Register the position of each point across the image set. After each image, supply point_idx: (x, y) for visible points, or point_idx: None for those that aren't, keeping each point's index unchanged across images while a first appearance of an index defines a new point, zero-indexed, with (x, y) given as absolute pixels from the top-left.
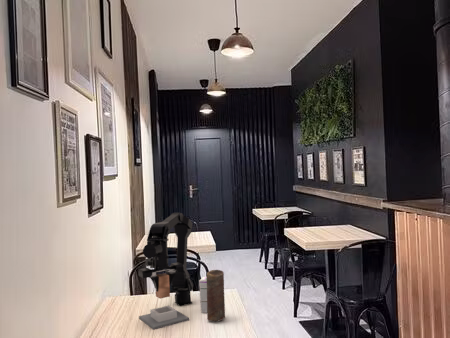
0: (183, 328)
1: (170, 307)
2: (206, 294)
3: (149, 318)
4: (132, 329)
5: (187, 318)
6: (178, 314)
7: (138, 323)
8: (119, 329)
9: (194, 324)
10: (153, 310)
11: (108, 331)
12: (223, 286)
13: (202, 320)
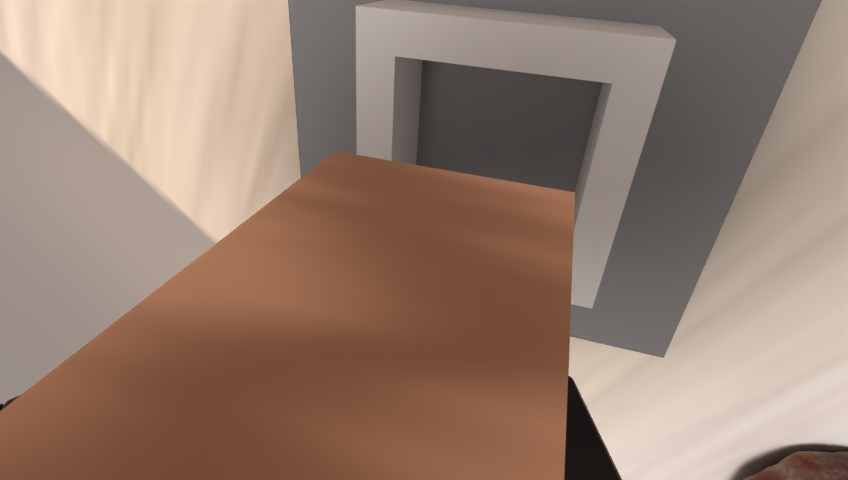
0: None
1: (617, 160)
2: None
3: (355, 53)
4: (182, 131)
5: (641, 352)
6: (673, 201)
7: (252, 28)
8: (86, 42)
9: (615, 420)
10: (374, 82)
11: (5, 14)
12: None
13: (736, 421)
